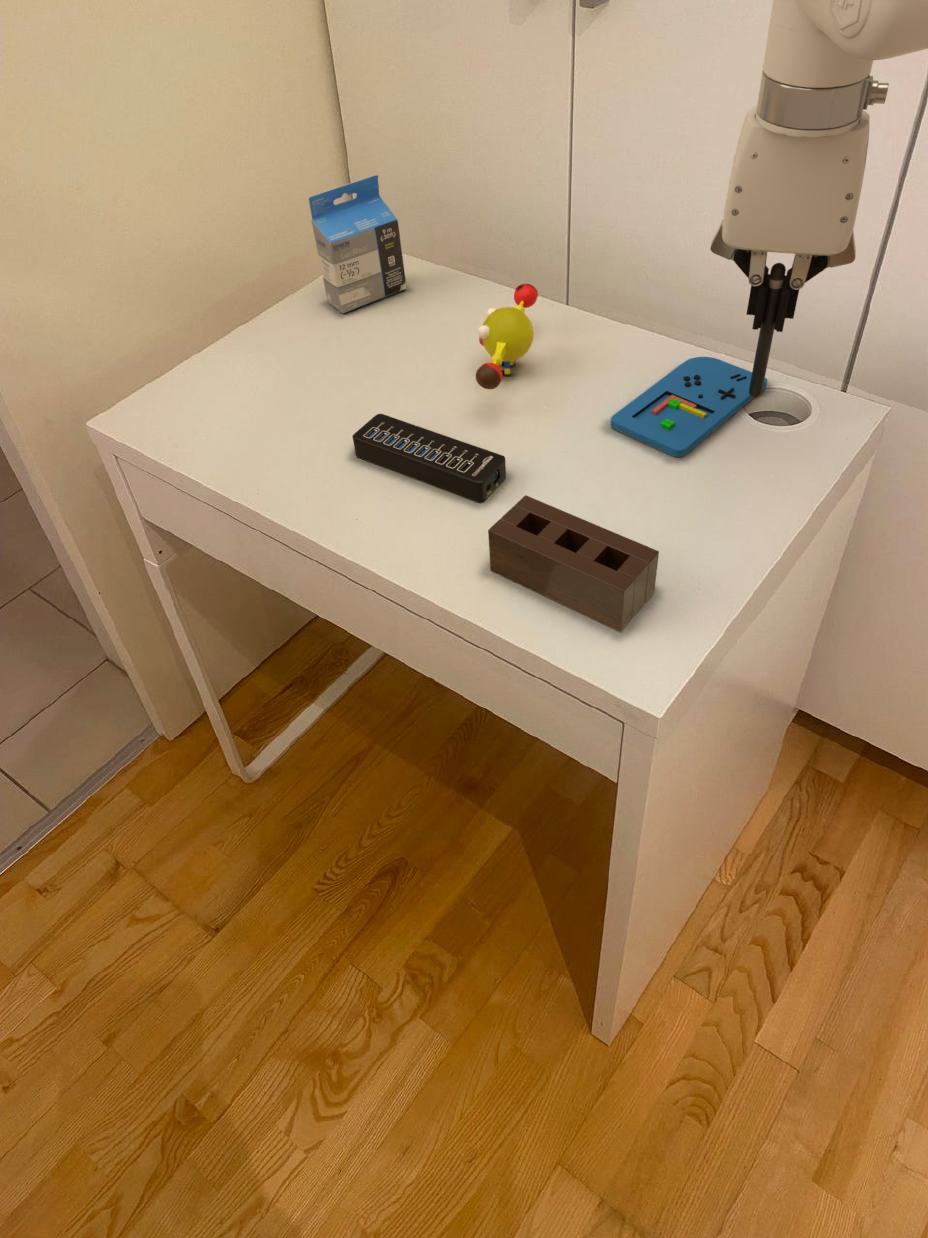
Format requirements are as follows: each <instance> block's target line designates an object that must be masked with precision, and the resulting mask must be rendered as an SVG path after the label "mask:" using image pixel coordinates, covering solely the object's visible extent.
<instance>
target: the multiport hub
mask: <svg viewBox="0 0 928 1238" xmlns="http://www.w3.org/2000/svg"><path fill="white" fill-rule="evenodd" d="M352 442H353V447H354V453H355V457H356V458H358V459H361V460H363V461H366V462H368V463H372V464H374V465H377V466H379V467H382V468H385V469H387V470H390V471H393V472H395V473H398V474H400V475H403V476H406V477H409V478H411V479H414V480H416V481H419V482H422V483H425V484H427V485H430V486H433V487H434V488H438V489H441V490H443V491H446V492H449V493H451V494H454V495H457V496H460V497H461V498H465V499H467V500H470V501H473V502H475V503H479V504H482V503H484V502H486V500H487V499H489V497H491V495H492V494H493V493H494V492H495V491H496V490H497V489H498V488H499V487H500V486H501V485H502V484H503V482H505V480H506V479H507V466H506V464H507V463H506V462H507V461H506V457H505V456H504V455H503V454H499V453H497V452H494V451H491V450H488V449H485V448H482V447H480V446H476V445H474V444H470V443H468V442H465V441H462V440H459V439H457V438H454V437H450V436H447V435H446V434H445V435H444V434H441V433H439V432H436V431H433V430H430V429H427V428H424V427H421V426H419V425H415V424H413V423H410V422H407V421H404V420H402V419H398V418H396V417H393V416H389V415H386V414H384V413H377V414H375V415H374V416H373V417H372V418H371V419H369V420H368V421H367V422H366V423H365V424H364V425H362V426H361V427H360V428H359V429H357V431H356V432H354V433H353V435H352Z"/></svg>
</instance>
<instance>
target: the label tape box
mask: <svg viewBox="0 0 928 1238" xmlns="http://www.w3.org/2000/svg"><path fill="white" fill-rule="evenodd" d="M344 194H346V195H348V196H350V195H353V194H356V196H355V197H354V198H352V199H351V198H350V199H348V200H346V201H342V202H339V203H336V204H335V200H338V199H340V198H342V197H343V195H344ZM308 204H309V209H310V215H311V225H312V231H313V236H314V241H315V245H316V249H317V254H318V261H319V265H320V270H321V275H322V281H323V285H324V290H325V295H326V299H327V303H328V304H330V305H331V306H332V307H333V308H334V309H335V310H337V311H338V312H340V313H341V314H346V313H349V312H351V311H353V310H355V309H359V308H361V307H363V306H366V305H369V304H371V303H373V302H376V301H379V300H381V299H384V298H386V297H389V296H391V295H393V294H396V293H399V292H401V291H404V290H407V280H406V279H407V278H406V272H405V264H404V259H403V250H402V242H401V234H400V226H399V220H398V218H397V217H396V215H395V214H394V212H392V210H391V208H390V207H389V206H388V205H387V203H386V202H385V201H384V199H383V198H382V197H381V195H380V185H379V175H378V174H376V175H375V174H374V175H372V176H368V177H365V178H363V179H362V178H361V179H359V180H356V181H352V182H350V183H346V184H344V185H340V186H337V187H335V188H331V189H329V190H325V191H322V192H320V193H319V192H318V193H316V194H313V195H310V196H308Z"/></svg>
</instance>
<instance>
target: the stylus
mask: <svg viewBox="0 0 928 1238" xmlns="http://www.w3.org/2000/svg"><path fill="white" fill-rule="evenodd" d="M786 271H787V269H786V265H785V264H783V263H781V262H776V263H774V264H772V266H771V268H770V273H769V274H770V277H769V285H768V291H767V297H766V302H765V308H764V313H763V319H762V324H761V328H759V333H758V338H757V344H756V349H755V355H754V361H753V365H752V371H751V372H752V376H751V382H750V387H749V394H750V396H752V397H754V398H758V397H760V396H761V395H762V394H763V391H764V390H763V384H764V379H765V378H766V373H767V369H768V363H769V358H770V353H771V349H772V343H773V338H774V333H775V330H774V328H775V322H776V316H777V311H778V306H779V301H780V296H781V291H782V286H783V283H784V277H785V275H786V273H787V272H786ZM762 390H763V391H762Z"/></svg>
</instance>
